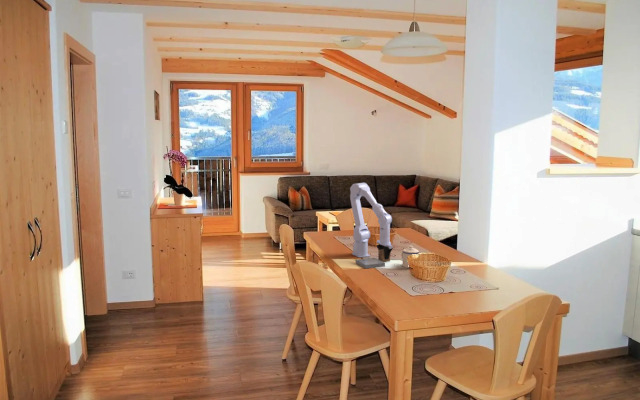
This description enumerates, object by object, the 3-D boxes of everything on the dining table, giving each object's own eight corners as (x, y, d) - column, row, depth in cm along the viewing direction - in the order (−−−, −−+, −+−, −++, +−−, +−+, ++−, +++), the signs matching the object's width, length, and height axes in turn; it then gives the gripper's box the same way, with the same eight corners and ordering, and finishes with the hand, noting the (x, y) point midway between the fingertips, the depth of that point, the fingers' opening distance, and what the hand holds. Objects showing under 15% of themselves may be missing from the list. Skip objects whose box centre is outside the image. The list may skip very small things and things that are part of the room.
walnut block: (378, 259, 288) (378, 249, 287) (385, 259, 290) (385, 249, 289) (382, 262, 284) (382, 251, 283) (390, 261, 286) (390, 251, 285)
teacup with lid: (422, 267, 273) (422, 246, 271) (409, 269, 269) (409, 248, 267) (408, 262, 283) (408, 242, 282) (395, 264, 279) (396, 244, 277)
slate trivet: (355, 263, 281) (355, 259, 281) (374, 261, 286) (374, 257, 285) (365, 268, 270) (365, 265, 270) (384, 266, 275) (384, 262, 274)
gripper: (397, 237, 280) (396, 260, 282) (384, 232, 293) (383, 254, 295) (386, 238, 277) (386, 261, 279) (373, 233, 290) (373, 255, 292)
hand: (384, 258), depth 287 cm, fingers closed on walnut block, 5 cm apart
